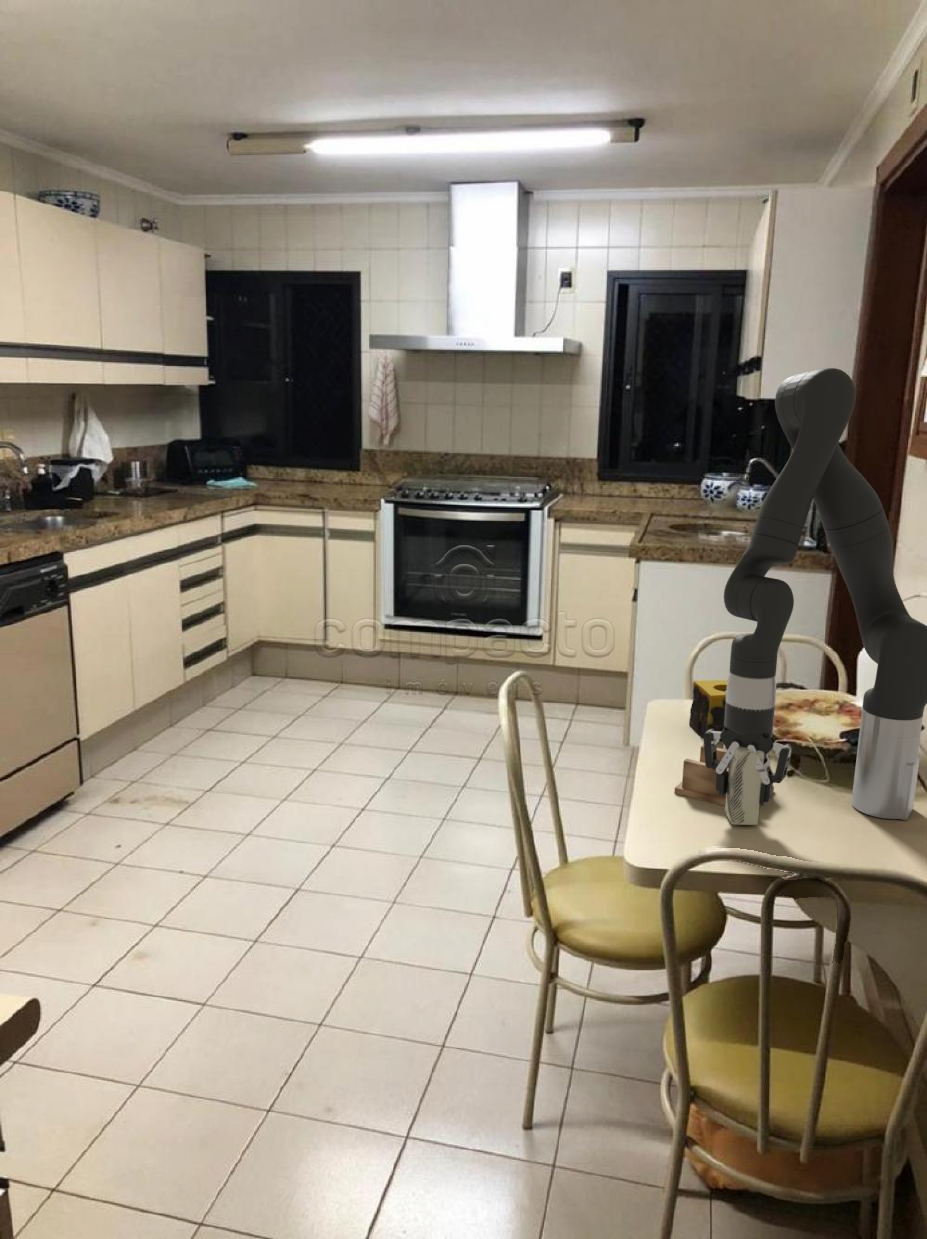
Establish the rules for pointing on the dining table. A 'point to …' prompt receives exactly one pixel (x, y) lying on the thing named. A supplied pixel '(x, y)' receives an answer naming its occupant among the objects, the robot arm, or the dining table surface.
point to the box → (743, 787)
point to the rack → (701, 780)
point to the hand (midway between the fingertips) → (742, 798)
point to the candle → (708, 706)
